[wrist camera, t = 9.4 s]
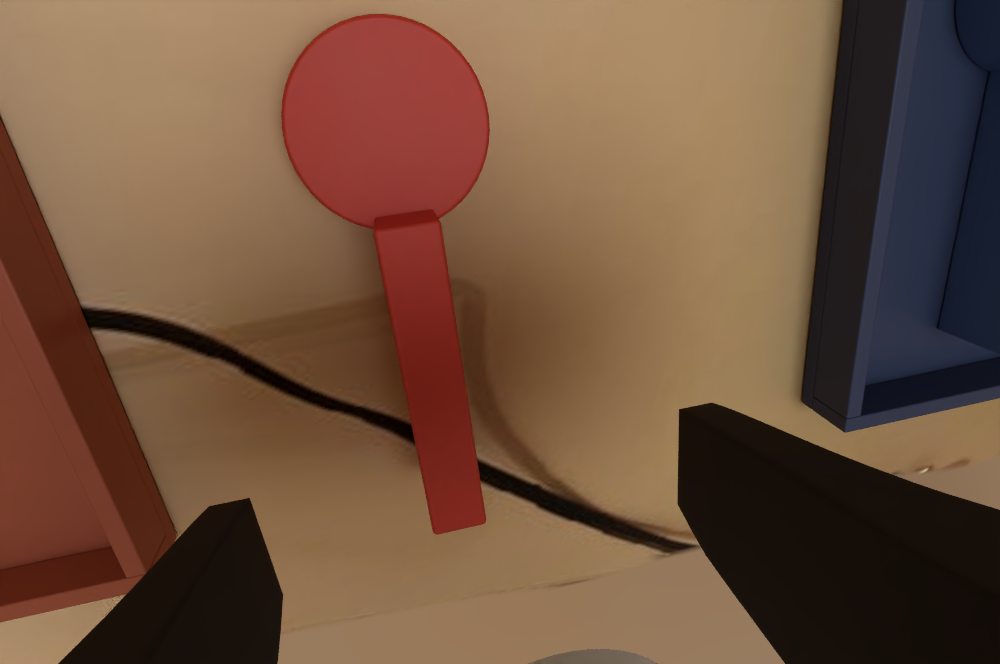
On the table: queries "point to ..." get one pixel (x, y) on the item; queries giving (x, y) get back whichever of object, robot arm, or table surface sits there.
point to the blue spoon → (979, 195)
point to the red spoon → (401, 209)
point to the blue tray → (895, 221)
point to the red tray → (61, 435)
